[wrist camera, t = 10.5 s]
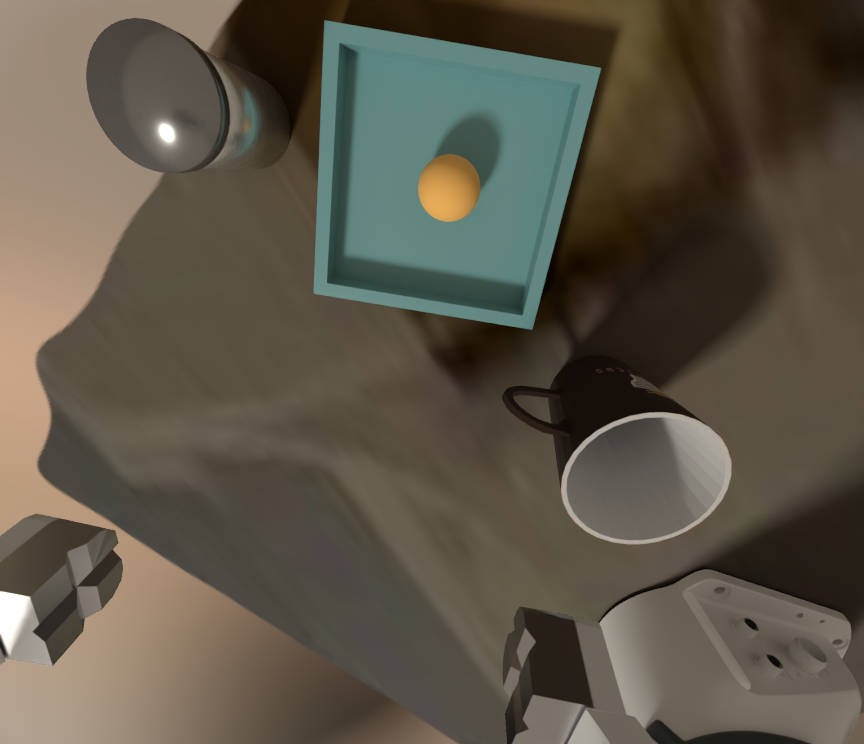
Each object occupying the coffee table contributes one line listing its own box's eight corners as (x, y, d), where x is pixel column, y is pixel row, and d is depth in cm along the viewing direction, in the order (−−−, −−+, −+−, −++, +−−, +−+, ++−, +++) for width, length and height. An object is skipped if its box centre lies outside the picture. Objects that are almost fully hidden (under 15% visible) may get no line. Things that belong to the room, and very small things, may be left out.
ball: (475, 165, 26) (494, 155, 23) (465, 226, 27) (482, 225, 24) (417, 154, 25) (429, 142, 22) (410, 217, 26) (419, 215, 23)
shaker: (294, 76, 25) (214, 30, 17) (293, 179, 27) (221, 182, 19) (200, 60, 25) (75, 7, 17) (206, 164, 27) (98, 161, 19)
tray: (587, 77, 24) (601, 67, 22) (526, 317, 30) (532, 329, 28) (337, 34, 24) (324, 20, 22) (324, 284, 30) (313, 293, 28)
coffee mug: (675, 404, 32) (760, 495, 23) (574, 463, 35) (614, 566, 26) (590, 281, 29) (649, 332, 20) (484, 357, 32) (495, 432, 22)
